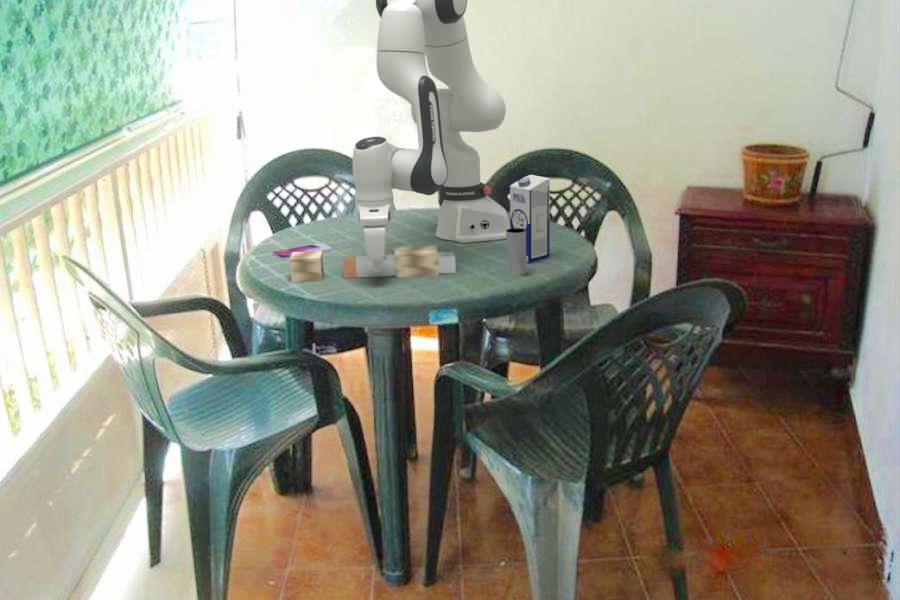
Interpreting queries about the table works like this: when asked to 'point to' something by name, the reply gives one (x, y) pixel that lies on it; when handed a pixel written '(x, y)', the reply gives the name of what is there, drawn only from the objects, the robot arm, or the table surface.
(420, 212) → the table surface
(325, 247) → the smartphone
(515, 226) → the milk carton
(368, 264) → the slip tube
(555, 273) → the table surface
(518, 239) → the grey cylinder
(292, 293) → the table surface
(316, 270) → the beige wooden block
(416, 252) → the sleeve
